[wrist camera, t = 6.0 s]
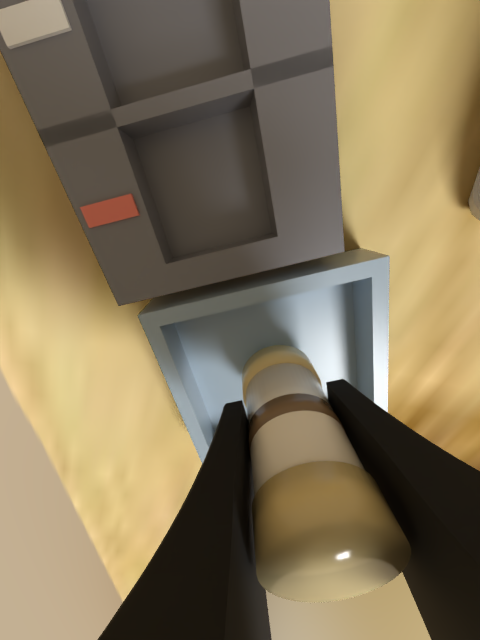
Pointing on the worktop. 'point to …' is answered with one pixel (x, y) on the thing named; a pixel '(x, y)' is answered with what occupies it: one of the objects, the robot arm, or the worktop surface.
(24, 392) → the worktop surface
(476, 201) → the wrench
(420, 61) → the worktop surface
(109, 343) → the worktop surface
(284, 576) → the cylinder
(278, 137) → the fuse block
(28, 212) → the worktop surface
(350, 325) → the parts tray
